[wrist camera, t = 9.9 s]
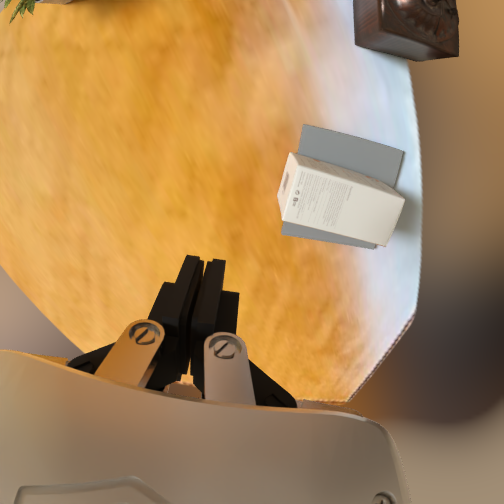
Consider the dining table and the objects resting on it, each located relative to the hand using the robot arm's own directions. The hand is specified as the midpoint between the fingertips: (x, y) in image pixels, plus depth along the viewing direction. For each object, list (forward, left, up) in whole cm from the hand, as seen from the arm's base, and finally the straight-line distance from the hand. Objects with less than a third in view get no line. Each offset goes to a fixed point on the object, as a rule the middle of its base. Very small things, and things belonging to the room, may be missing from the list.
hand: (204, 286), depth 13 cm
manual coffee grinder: (-27, +16, -27) cm, 41 cm away
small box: (+1, +5, -22) cm, 23 cm away
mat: (+1, +14, -27) cm, 30 cm away
